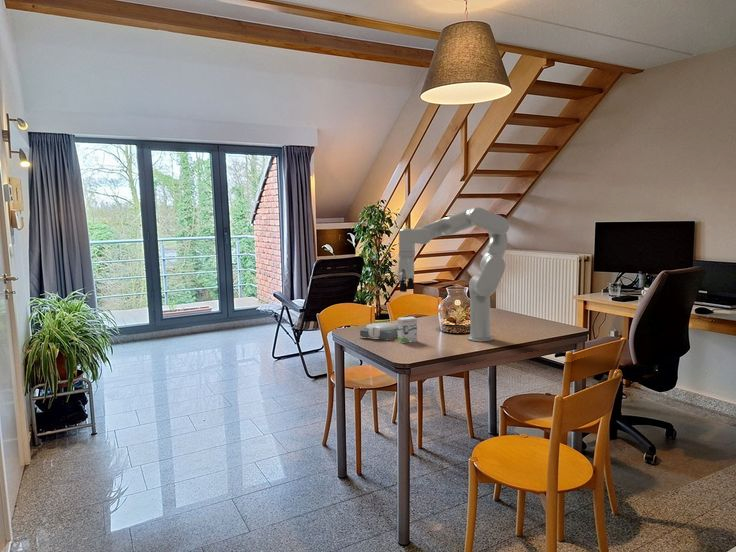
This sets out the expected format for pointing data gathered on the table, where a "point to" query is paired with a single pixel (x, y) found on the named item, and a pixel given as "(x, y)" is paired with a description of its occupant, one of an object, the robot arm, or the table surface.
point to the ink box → (407, 329)
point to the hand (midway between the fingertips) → (406, 290)
